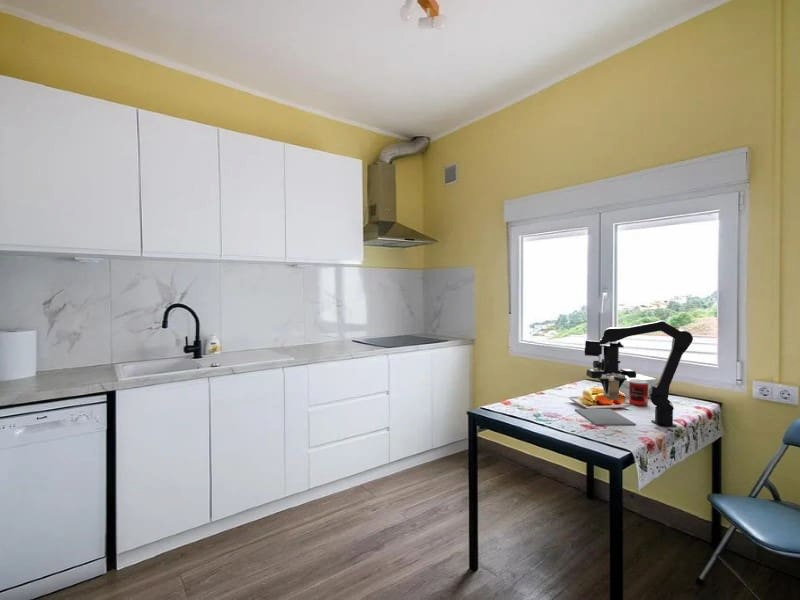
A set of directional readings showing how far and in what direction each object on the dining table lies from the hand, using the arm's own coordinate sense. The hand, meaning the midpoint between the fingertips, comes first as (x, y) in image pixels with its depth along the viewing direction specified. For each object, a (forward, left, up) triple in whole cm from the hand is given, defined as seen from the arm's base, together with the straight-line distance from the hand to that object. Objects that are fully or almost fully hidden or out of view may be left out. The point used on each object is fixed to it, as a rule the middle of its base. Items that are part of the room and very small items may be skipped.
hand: (610, 393), depth 174 cm
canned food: (+19, -23, -11) cm, 32 cm away
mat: (0, +3, -10) cm, 11 cm away
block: (0, 0, -2) cm, 2 cm away
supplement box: (+36, -30, -11) cm, 48 cm away
